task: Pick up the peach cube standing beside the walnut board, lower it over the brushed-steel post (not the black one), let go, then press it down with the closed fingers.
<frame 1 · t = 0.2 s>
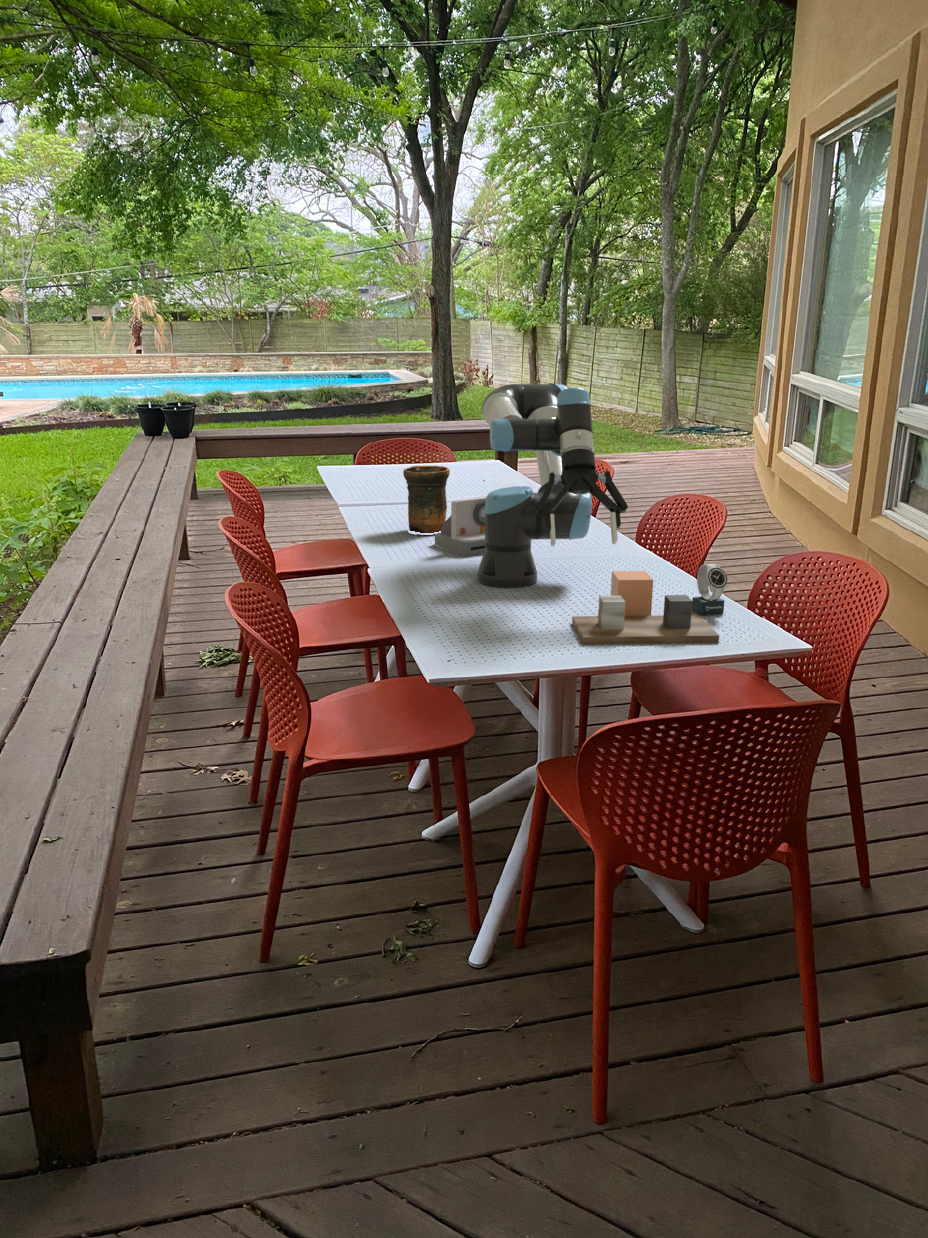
hand: (584, 543, 204), 16 cm above the table, tool tilted 30°, fingers open, 13 cm apart
instant camera: (475, 547, 271), on the table
peach cube: (630, 614, 208), on the table
watch: (707, 612, 209), on the table
vessel: (427, 532, 291), on the table
post board: (643, 632, 195), on the table
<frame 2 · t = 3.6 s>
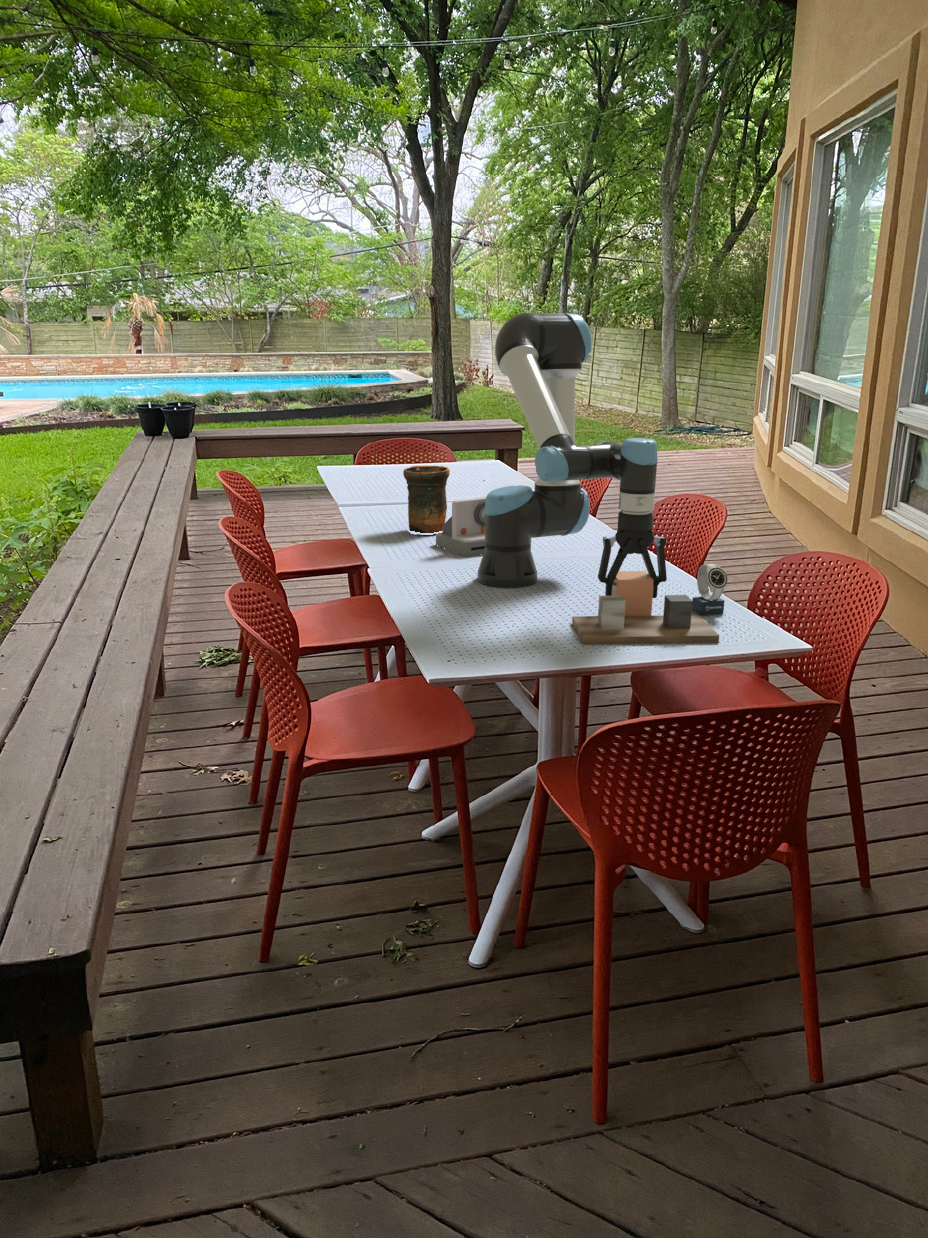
hand: (630, 611, 208), 1 cm above the table, tool pointing down, fingers closed on peach cube, 8 cm apart
peach cube: (629, 614, 208), on the table, touching gripper
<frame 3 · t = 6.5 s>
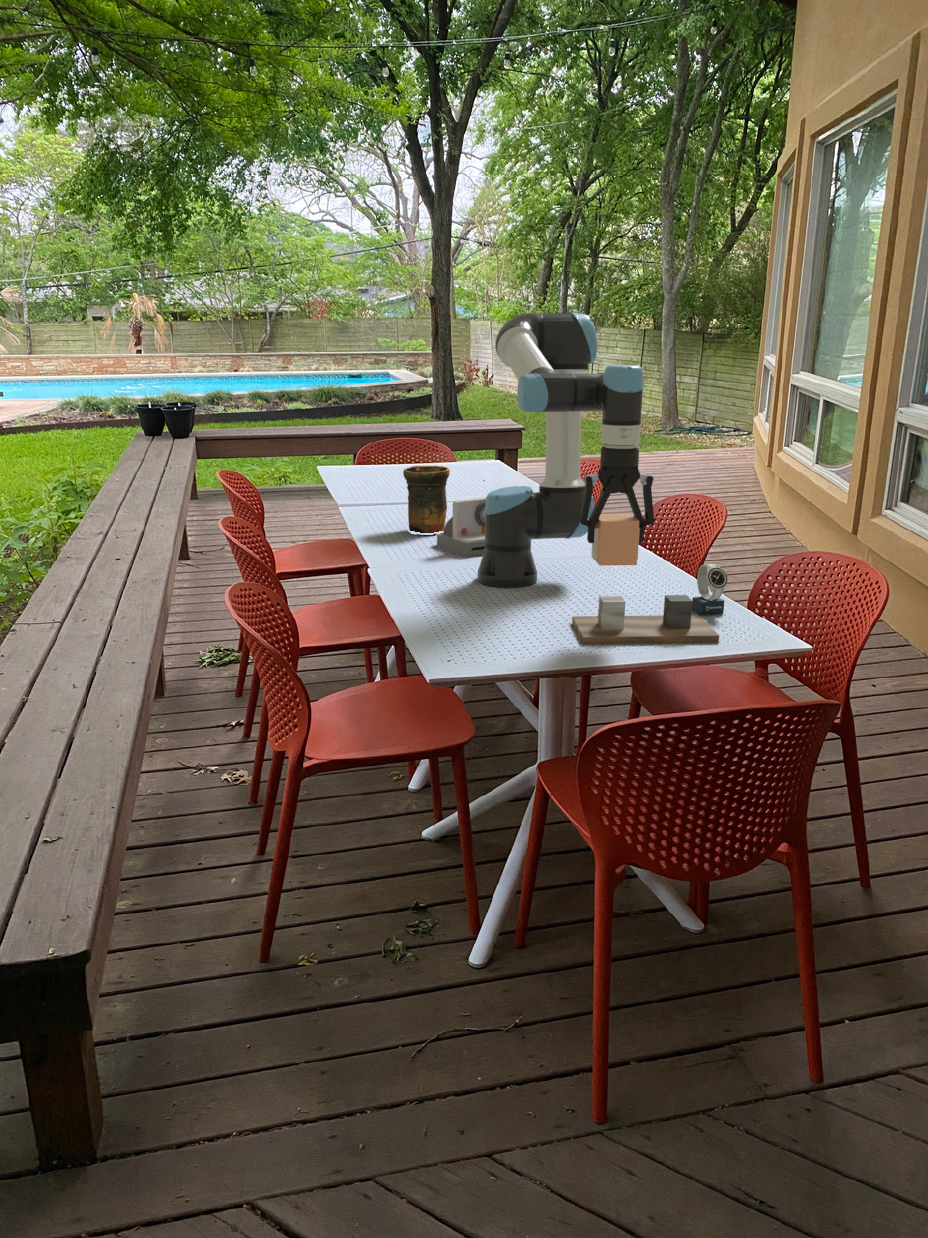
hand: (614, 558, 190), 16 cm above the table, tool pointing down, fingers closed on peach cube, 8 cm apart
peach cube: (614, 560, 190), point 16 cm above the table, touching gripper
when the fingers open (3 cm above the table, at t = 9.7 s): peach cube stays where it is, resting on post board.
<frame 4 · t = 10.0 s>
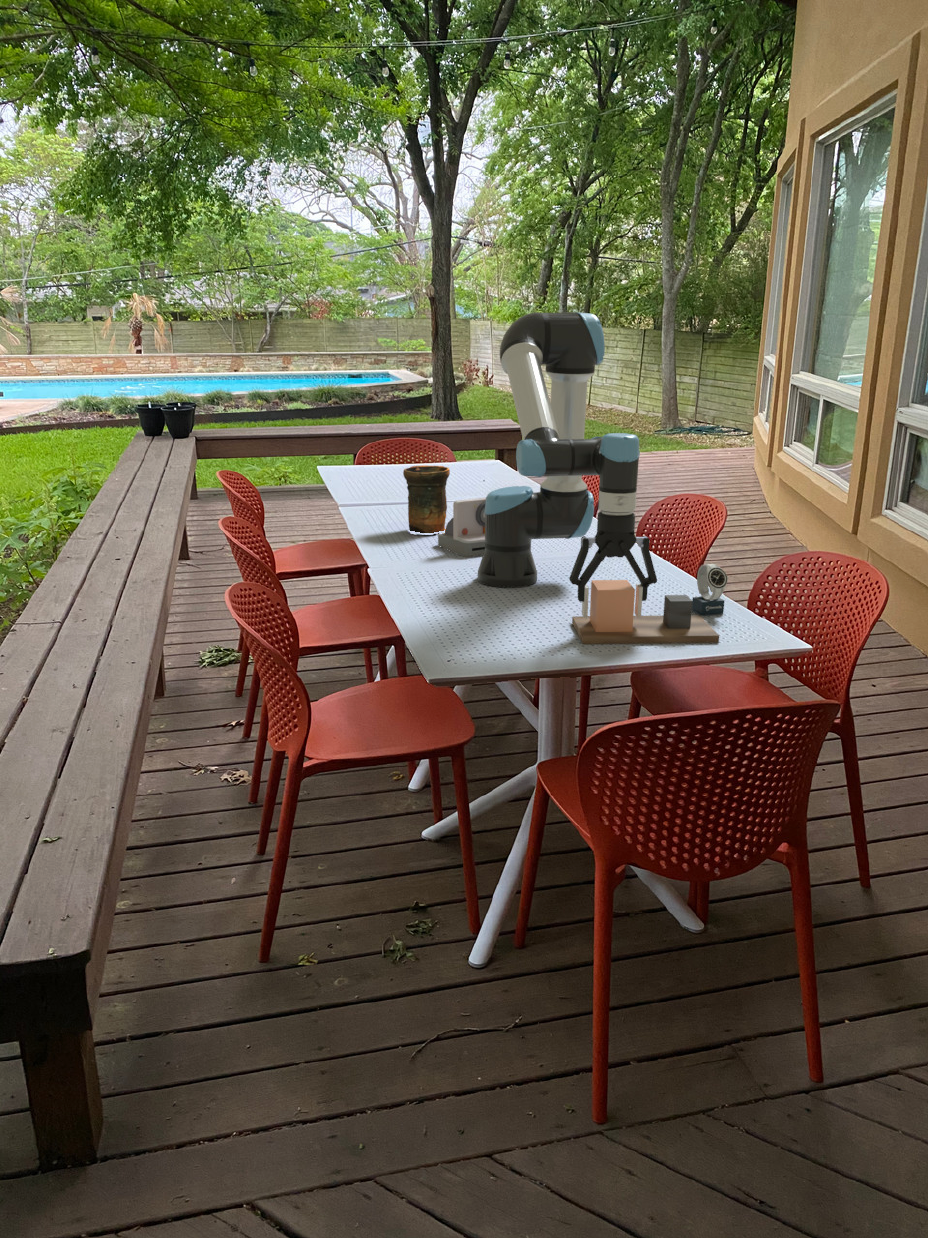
hand: (611, 615, 194), 4 cm above the table, tool pointing down, fingers open, 10 cm apart
peach cube: (610, 626, 195), point 1 cm above the table, touching post board
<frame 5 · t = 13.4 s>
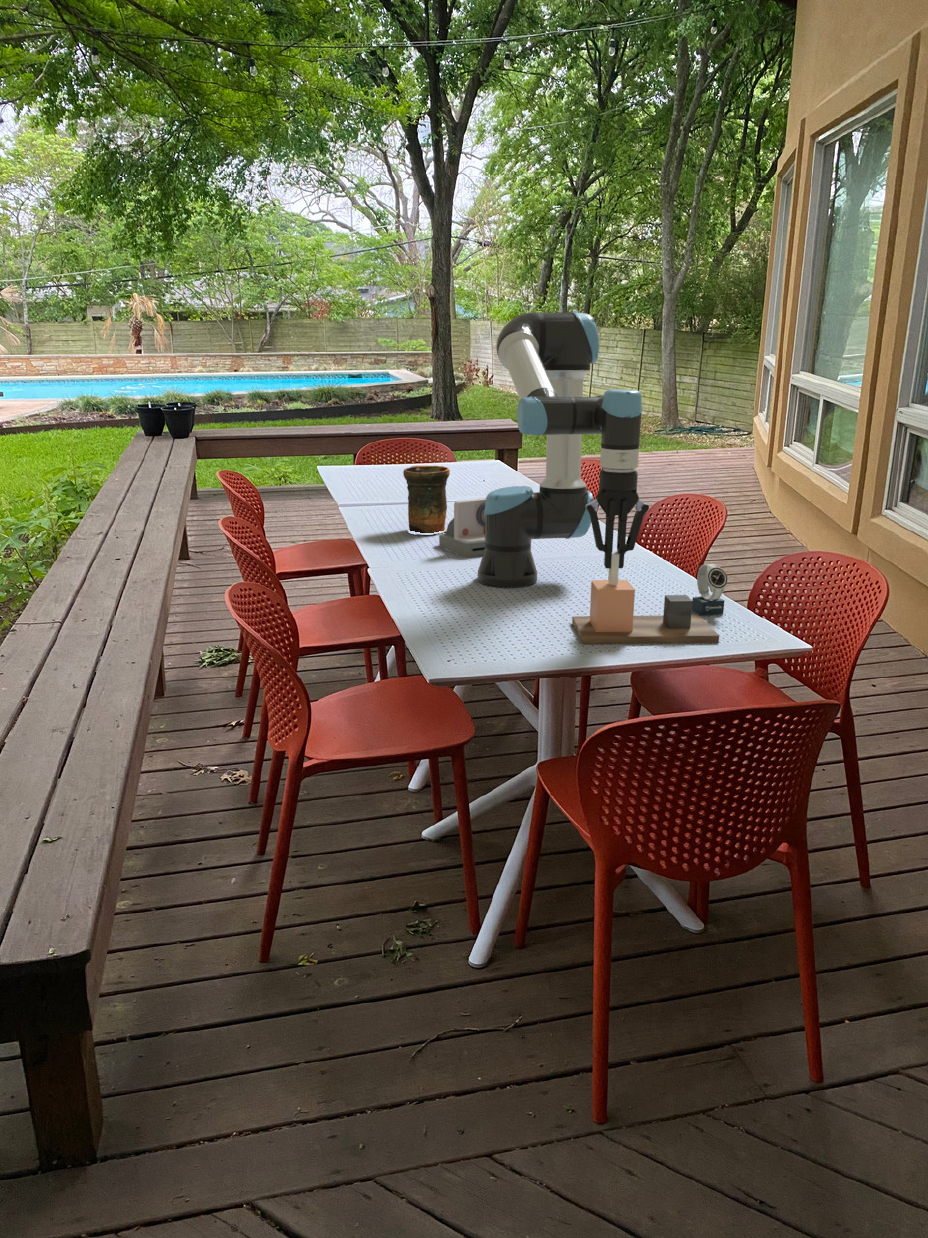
hand: (612, 583, 192), 11 cm above the table, tool pointing down, fingers closed
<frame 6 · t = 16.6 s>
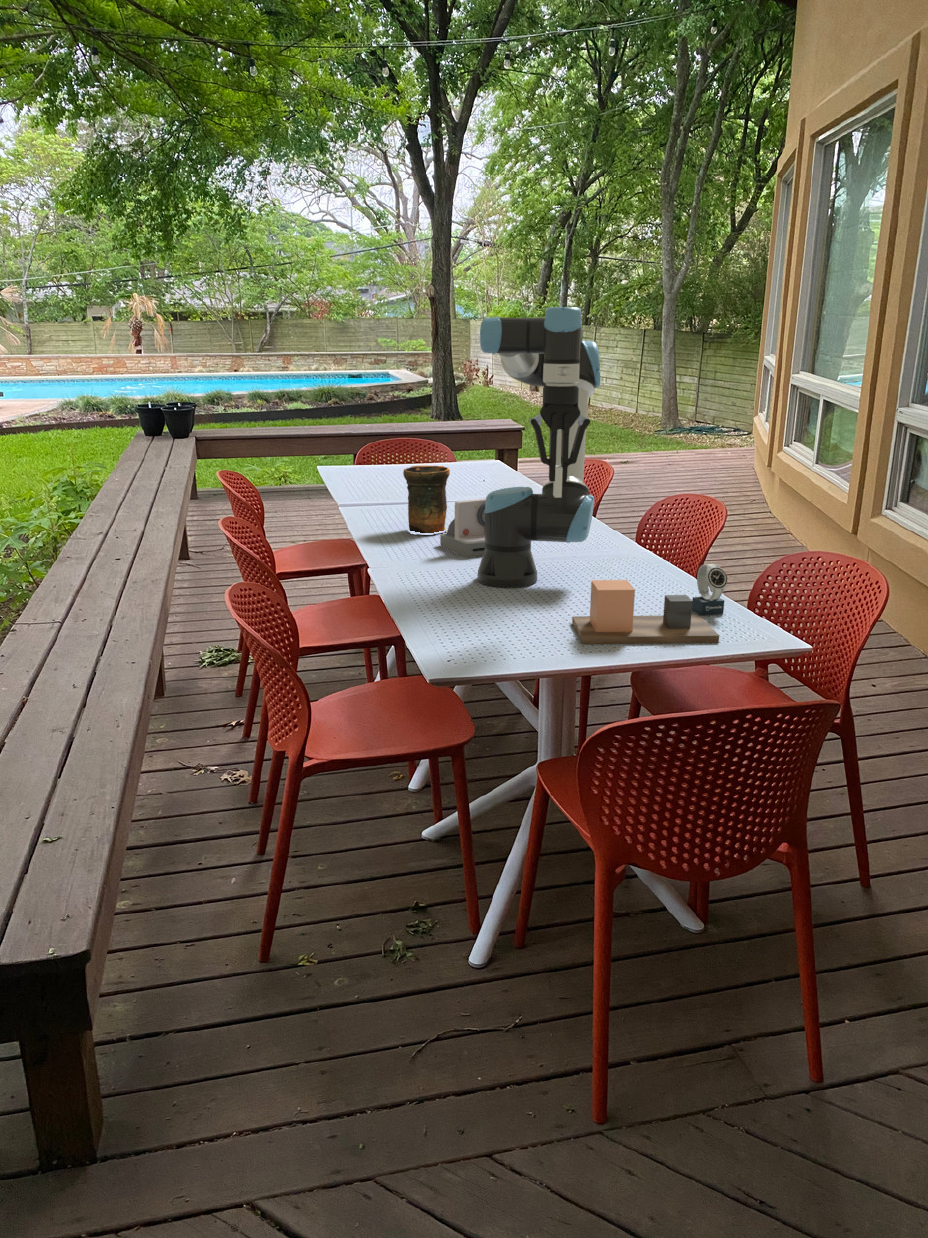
hand: (557, 496, 201), 26 cm above the table, tool pointing down, fingers closed
at the end: peach cube 0.0 cm from the target spot on the post board, point 1.5 cm above the post board's base; peach cube tilted 0°; the gripper is holding nothing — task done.
